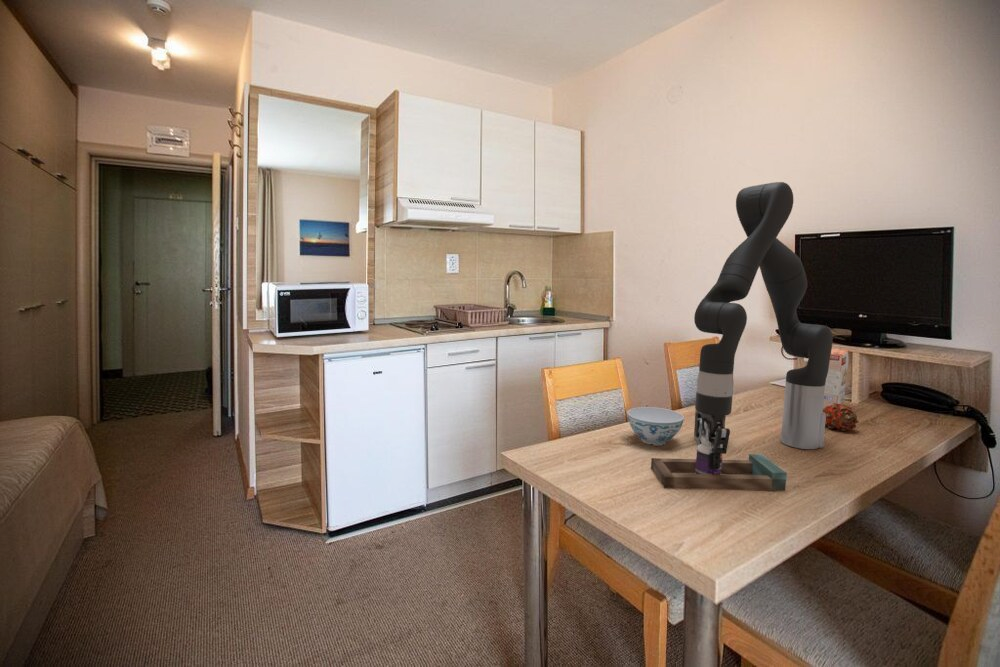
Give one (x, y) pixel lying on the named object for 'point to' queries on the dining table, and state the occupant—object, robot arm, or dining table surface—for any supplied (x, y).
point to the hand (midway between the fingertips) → (708, 463)
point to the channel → (758, 465)
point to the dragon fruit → (840, 417)
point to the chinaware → (655, 424)
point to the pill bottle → (705, 458)
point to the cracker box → (836, 377)
